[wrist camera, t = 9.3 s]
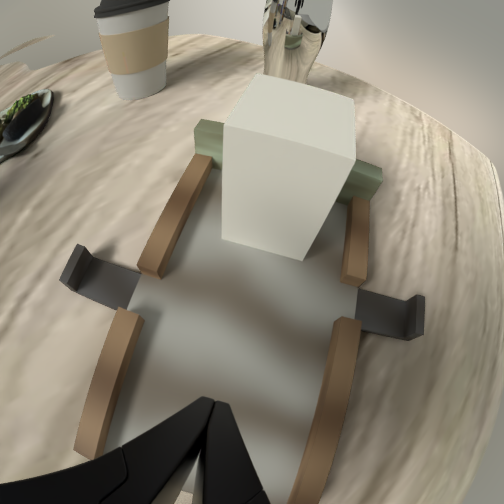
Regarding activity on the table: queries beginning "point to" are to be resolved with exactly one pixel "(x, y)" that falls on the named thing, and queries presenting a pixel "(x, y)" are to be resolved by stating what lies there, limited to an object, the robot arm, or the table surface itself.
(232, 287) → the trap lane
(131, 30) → the coffee cup
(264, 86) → the block
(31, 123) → the salad plate
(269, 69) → the beer glass
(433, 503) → the table surface
